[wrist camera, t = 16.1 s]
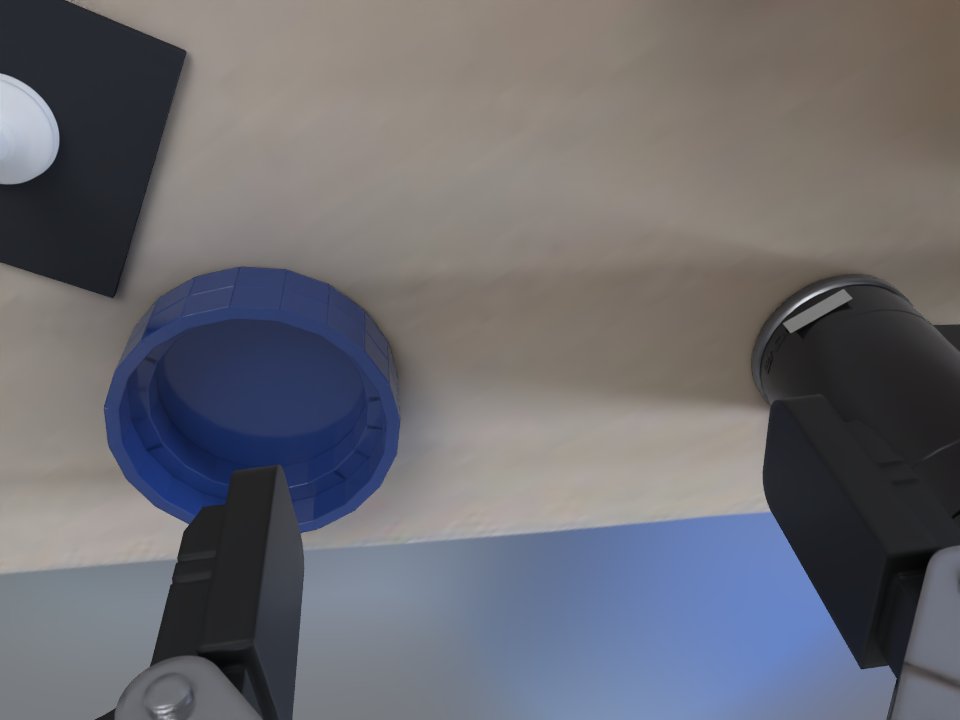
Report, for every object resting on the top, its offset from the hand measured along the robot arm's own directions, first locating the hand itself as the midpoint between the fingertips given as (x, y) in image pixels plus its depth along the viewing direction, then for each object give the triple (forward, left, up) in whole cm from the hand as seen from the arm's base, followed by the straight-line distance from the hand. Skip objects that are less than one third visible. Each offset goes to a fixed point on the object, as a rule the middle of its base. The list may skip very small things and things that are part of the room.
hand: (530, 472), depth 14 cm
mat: (+16, +11, -30) cm, 36 cm away
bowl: (+1, +20, -30) cm, 36 cm away
